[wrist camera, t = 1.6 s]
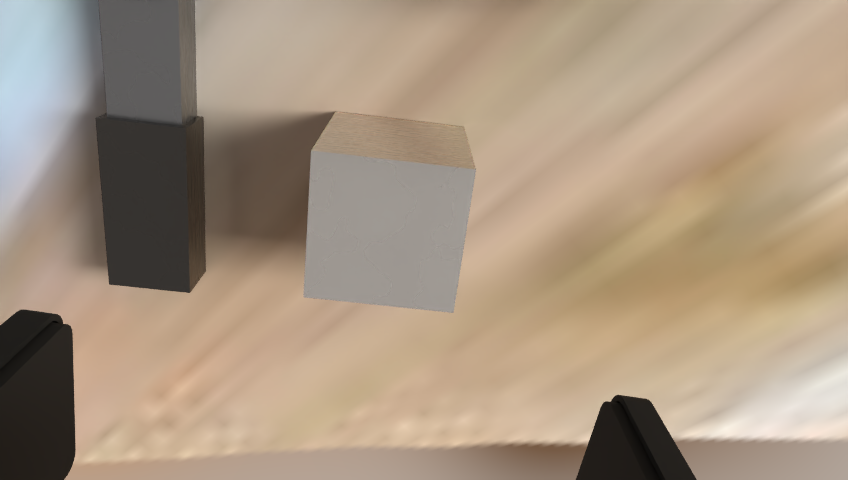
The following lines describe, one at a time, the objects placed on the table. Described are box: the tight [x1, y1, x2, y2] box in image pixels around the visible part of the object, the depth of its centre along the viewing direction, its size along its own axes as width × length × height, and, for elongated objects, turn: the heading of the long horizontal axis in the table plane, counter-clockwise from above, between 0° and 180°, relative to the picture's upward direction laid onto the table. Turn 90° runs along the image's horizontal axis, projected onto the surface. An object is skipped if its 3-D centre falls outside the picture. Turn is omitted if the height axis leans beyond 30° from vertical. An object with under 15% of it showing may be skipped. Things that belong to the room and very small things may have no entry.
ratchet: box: [96, 0, 206, 293], centre depth 26 cm, size 21×8×6 cm, turn 173°
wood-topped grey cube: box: [304, 112, 476, 313], centre depth 27 cm, size 6×6×7 cm
